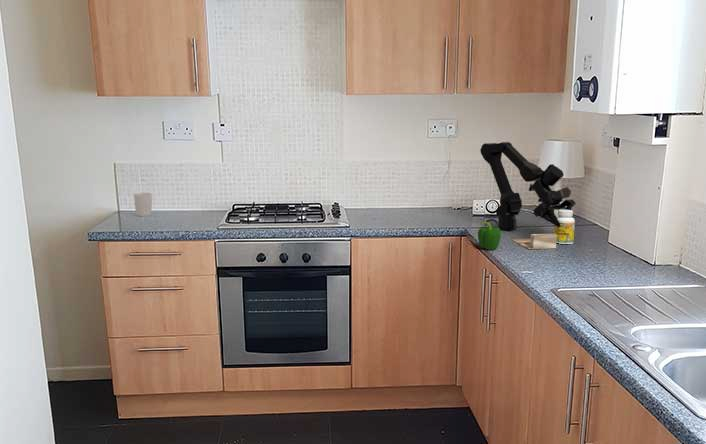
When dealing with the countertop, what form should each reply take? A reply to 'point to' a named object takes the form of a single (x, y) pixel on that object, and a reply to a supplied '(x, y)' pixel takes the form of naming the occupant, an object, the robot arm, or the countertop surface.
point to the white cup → (143, 204)
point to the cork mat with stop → (538, 241)
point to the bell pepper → (489, 237)
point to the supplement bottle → (565, 227)
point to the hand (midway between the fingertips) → (566, 225)
